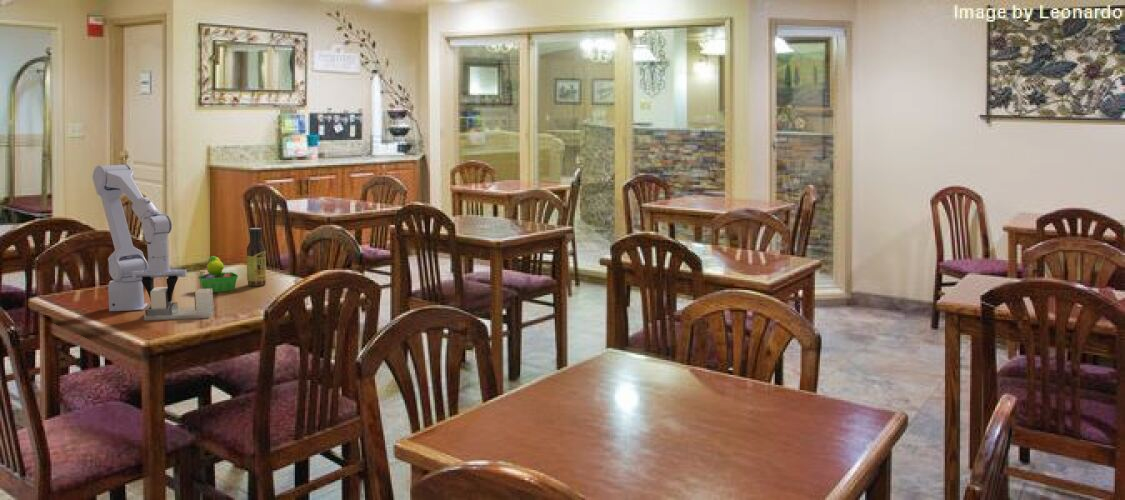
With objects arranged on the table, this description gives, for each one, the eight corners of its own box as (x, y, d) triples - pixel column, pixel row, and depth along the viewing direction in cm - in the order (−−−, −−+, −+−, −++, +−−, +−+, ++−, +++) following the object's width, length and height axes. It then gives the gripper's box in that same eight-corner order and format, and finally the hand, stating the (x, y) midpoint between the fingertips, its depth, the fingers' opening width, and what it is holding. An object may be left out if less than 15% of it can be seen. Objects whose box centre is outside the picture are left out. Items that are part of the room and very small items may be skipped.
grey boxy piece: (144, 320, 264) (142, 296, 263) (151, 312, 274) (149, 289, 273) (209, 317, 268) (208, 294, 267) (214, 310, 278) (213, 287, 277)
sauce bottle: (260, 287, 312) (258, 230, 309) (243, 286, 313) (241, 229, 310) (270, 283, 318) (268, 227, 315) (253, 282, 319) (251, 226, 316)
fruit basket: (204, 294, 300) (202, 260, 298) (197, 289, 307) (195, 256, 306) (239, 290, 307) (237, 257, 305) (231, 286, 314) (230, 253, 312)
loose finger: (151, 311, 266) (150, 291, 265) (155, 306, 272) (154, 287, 271) (167, 311, 267) (166, 291, 266) (171, 306, 273) (170, 286, 272)
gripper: (128, 259, 262) (131, 305, 264) (182, 257, 265) (185, 303, 267) (134, 255, 268) (137, 300, 271) (186, 253, 272) (189, 298, 274)
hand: (161, 301), depth 269 cm, fingers closed on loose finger, 4 cm apart
